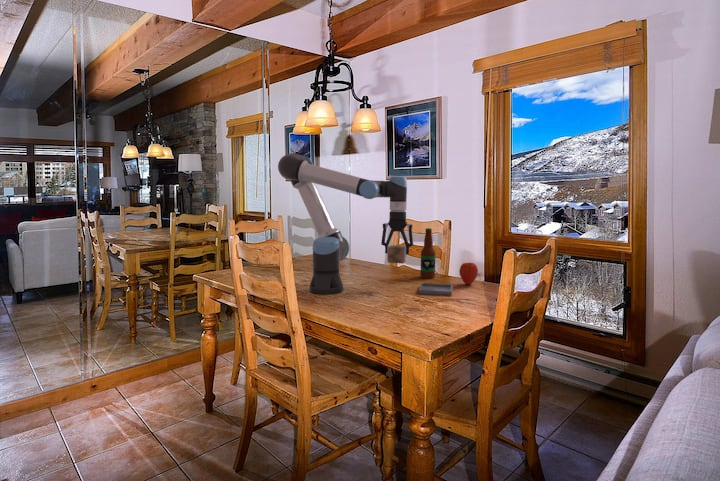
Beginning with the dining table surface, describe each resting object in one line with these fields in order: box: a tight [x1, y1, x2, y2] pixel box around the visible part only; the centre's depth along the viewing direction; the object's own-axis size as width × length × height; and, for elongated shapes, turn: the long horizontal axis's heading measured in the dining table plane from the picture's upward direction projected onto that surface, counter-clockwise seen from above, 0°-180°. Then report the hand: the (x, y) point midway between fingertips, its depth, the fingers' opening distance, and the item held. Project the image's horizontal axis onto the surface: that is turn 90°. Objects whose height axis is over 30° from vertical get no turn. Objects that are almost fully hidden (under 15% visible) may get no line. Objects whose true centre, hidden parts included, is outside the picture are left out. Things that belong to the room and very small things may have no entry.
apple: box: [459, 262, 479, 285], centre depth 218 cm, size 9×8×11 cm
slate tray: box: [418, 282, 453, 297], centre depth 206 cm, size 14×14×2 cm
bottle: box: [420, 227, 436, 280], centre depth 233 cm, size 7×7×25 cm
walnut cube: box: [387, 244, 406, 264], centre depth 211 cm, size 7×7×7 cm
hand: (396, 260), depth 211 cm, fingers closed on walnut cube, 7 cm apart
